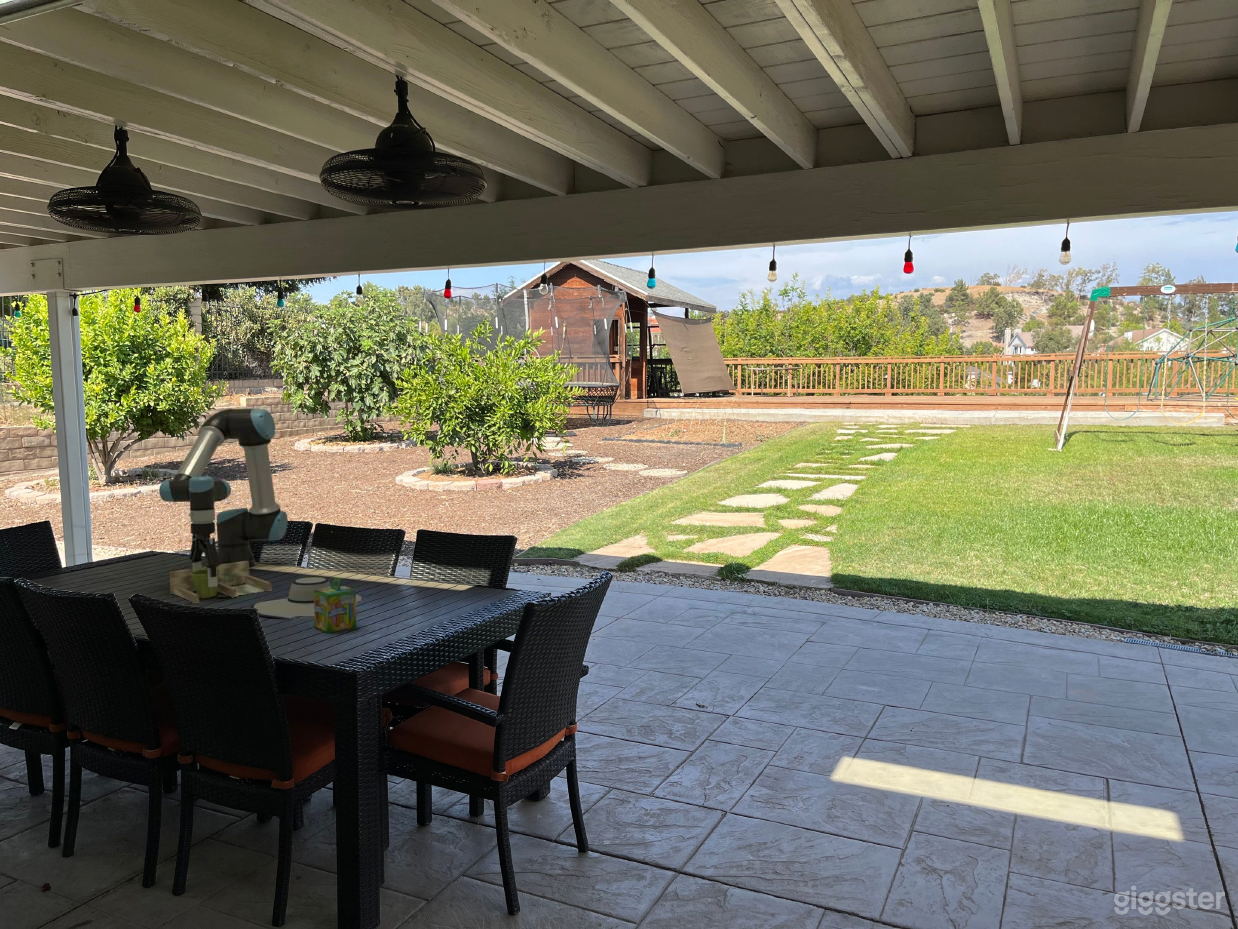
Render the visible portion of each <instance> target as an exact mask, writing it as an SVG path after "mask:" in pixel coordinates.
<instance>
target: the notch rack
mask: <svg viewBox="0 0 1238 929" xmlns="http://www.w3.org/2000/svg"><path fill="white" fill-rule="evenodd" d="M205 569H208V568H207V566H202V570H205ZM217 569H218V570H220V572H219V576H218V581H217V585H218V586H217V593H219V592H220V593H219V594H221V593H223V594H222V595H224V594H225V596H227V595H228V596H227V597H229V596H230V598H231V599H235V598H234V597H236V598H237V597H240V596H239V595H242V596H246V595H247V594H248V595H253V594H252V593H254V594H258V592H259V593H264V591H265V592H267V591H268V593H270V592H269V591H271V592H272V591H273V590H272V588H273V587H272V583H271V582H269V581H268V580H267V581H266V580H264V579H260V578H258V577H255V576H252V575H250V567H249V561H243V562H236V563H229V564H222V565H219V566H217ZM191 572H193V568H190V569H189V568H188V569H179V570H174V571H169V587H170V589H169V590H170V595H171V594H175V595H178V596H180V597H182V598H185V599H187V600H189V601H192V603H191V604H193V603H199V604H200V598H199V595H198V594H196V592H195V593H194V591H195V587H194V582H193V579H192V576H191V575H190V573H191ZM243 583H245V584H243ZM238 584H239V585H238ZM232 585H233V586H232ZM175 595H174V596H175ZM180 597H179V598H180ZM182 598H181V599H182ZM189 601H188V602H189Z"/></svg>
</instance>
